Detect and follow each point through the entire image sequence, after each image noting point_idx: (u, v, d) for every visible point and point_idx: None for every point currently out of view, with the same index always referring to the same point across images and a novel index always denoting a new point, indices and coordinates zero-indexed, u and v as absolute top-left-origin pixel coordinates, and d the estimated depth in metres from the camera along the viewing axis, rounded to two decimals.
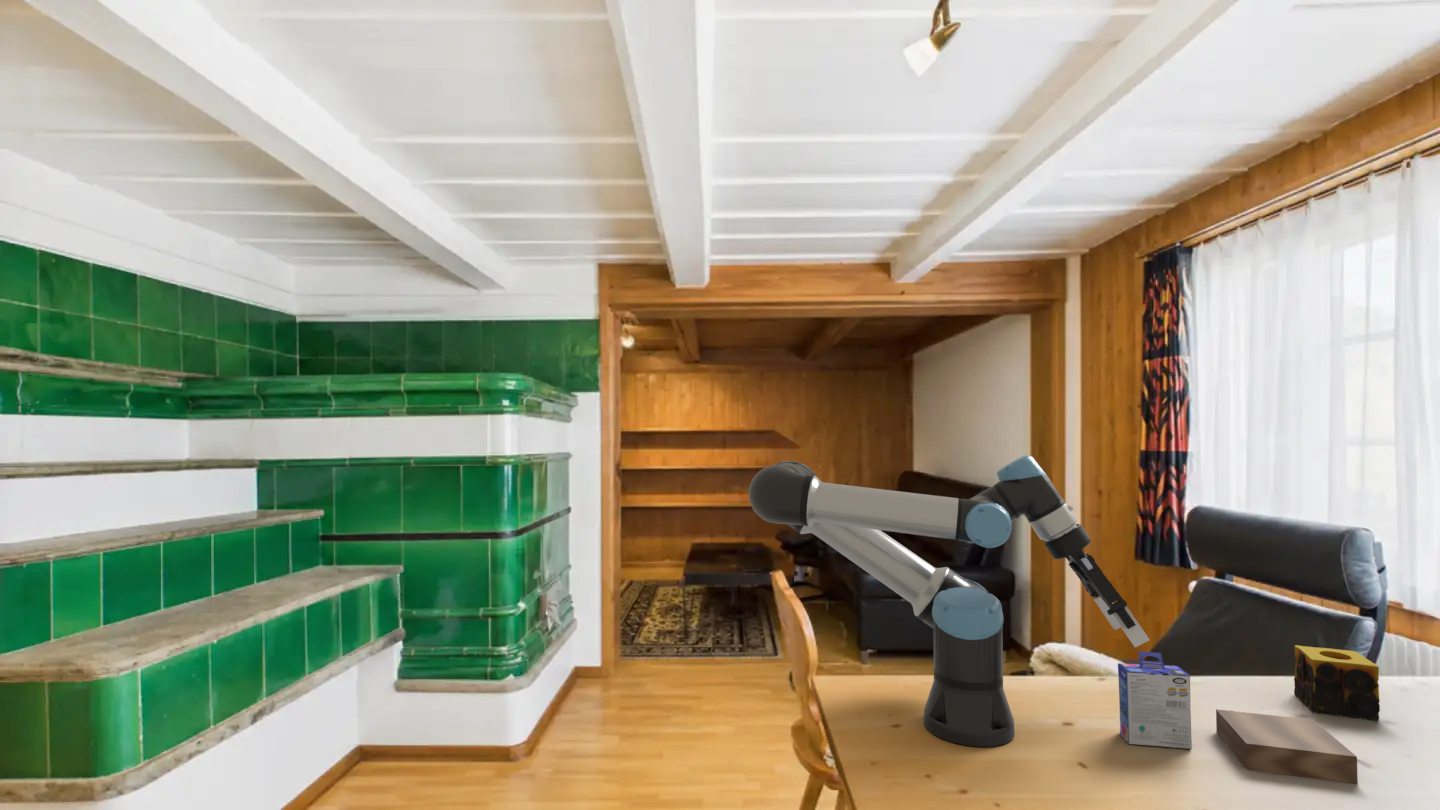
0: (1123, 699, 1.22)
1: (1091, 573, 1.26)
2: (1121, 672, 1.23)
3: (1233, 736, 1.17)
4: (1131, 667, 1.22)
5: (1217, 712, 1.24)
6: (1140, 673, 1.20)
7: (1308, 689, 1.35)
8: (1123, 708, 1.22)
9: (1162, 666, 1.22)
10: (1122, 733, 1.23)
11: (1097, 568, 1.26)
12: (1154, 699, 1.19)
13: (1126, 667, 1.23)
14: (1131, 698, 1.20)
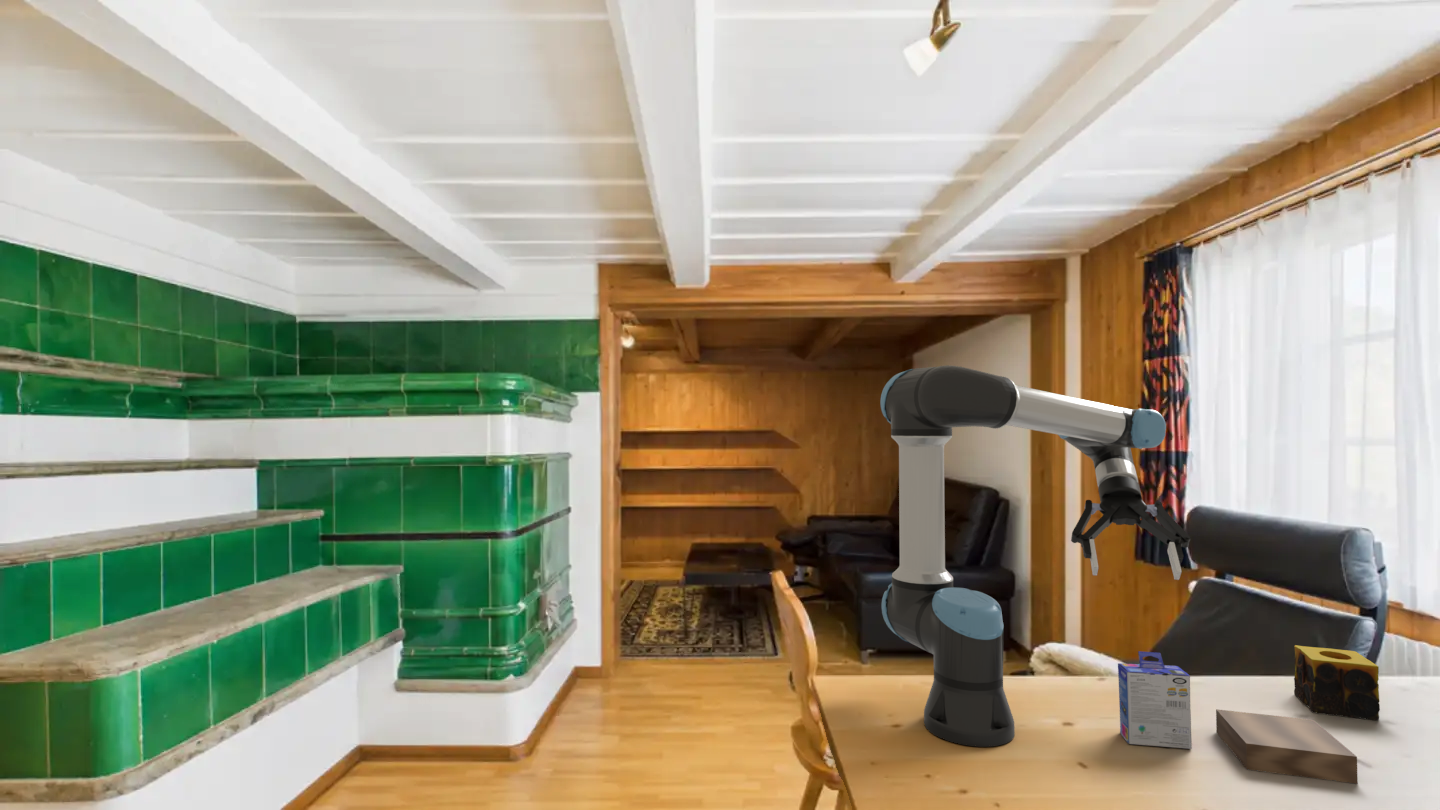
0: (1123, 699, 1.22)
1: None
2: (1121, 672, 1.23)
3: (1233, 736, 1.17)
4: (1131, 667, 1.22)
5: (1217, 712, 1.24)
6: (1140, 673, 1.20)
7: (1308, 689, 1.35)
8: (1123, 708, 1.22)
9: (1162, 666, 1.22)
10: (1122, 733, 1.23)
11: None
12: (1154, 699, 1.19)
13: (1126, 667, 1.23)
14: (1131, 699, 1.20)
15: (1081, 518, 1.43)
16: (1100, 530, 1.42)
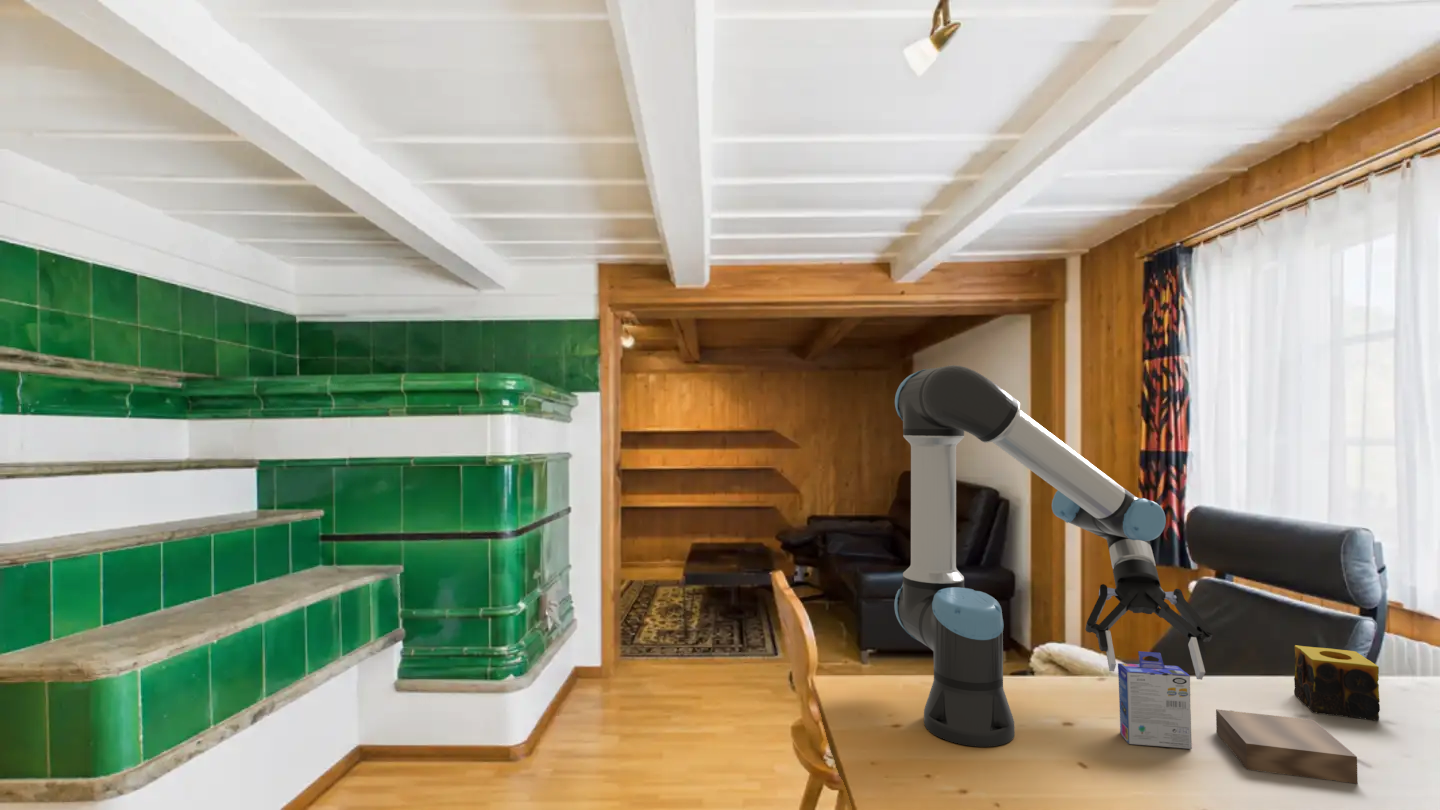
0: (1123, 699, 1.22)
1: None
2: (1121, 672, 1.23)
3: (1233, 736, 1.17)
4: (1130, 667, 1.22)
5: (1217, 712, 1.24)
6: (1140, 673, 1.20)
7: (1308, 689, 1.35)
8: (1123, 708, 1.22)
9: (1162, 666, 1.22)
10: (1122, 733, 1.23)
11: None
12: (1154, 699, 1.19)
13: (1126, 667, 1.23)
14: (1131, 699, 1.20)
15: (1096, 605, 1.35)
16: (1116, 619, 1.34)
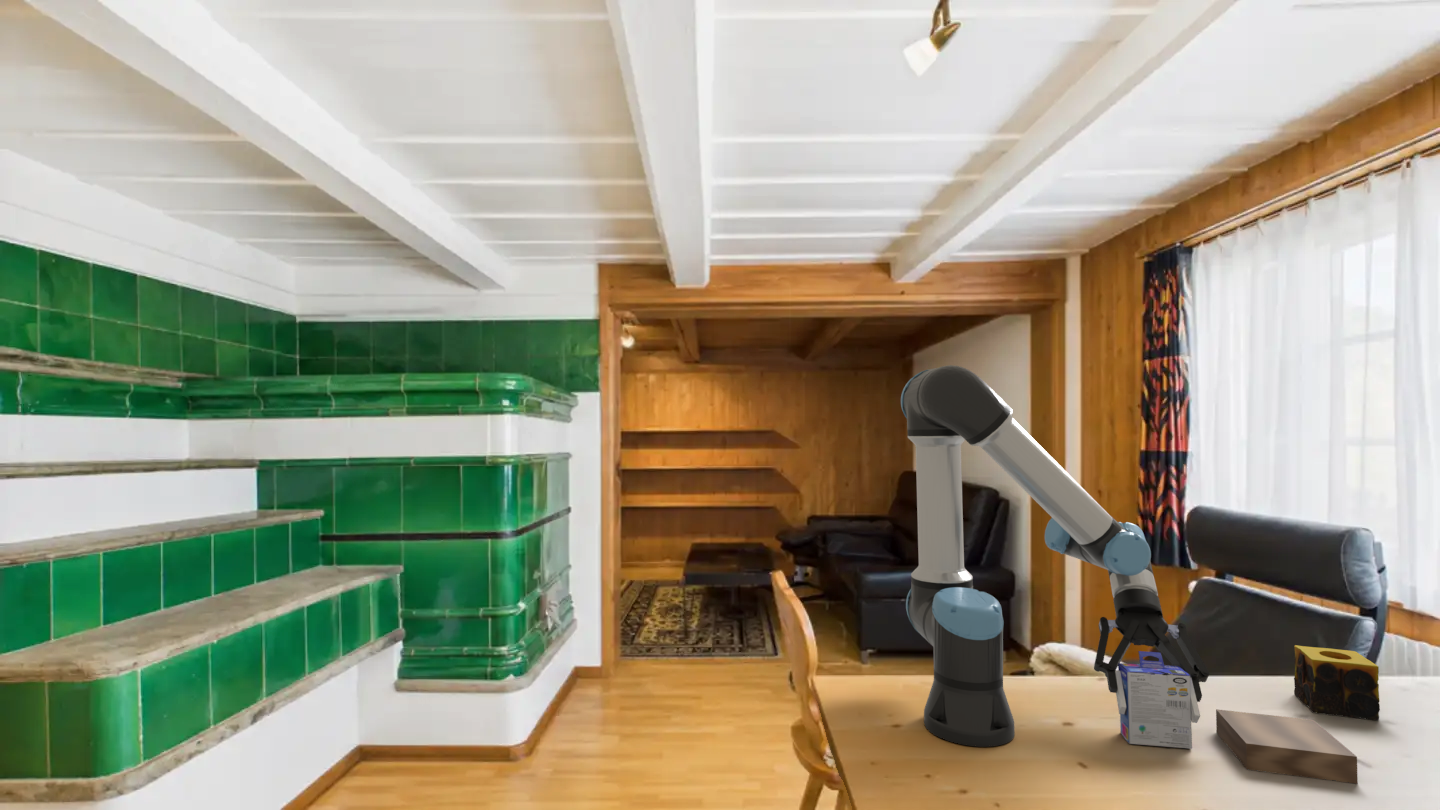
0: None
1: None
2: (1121, 672, 1.23)
3: (1233, 736, 1.17)
4: (1131, 667, 1.22)
5: (1217, 712, 1.24)
6: (1140, 673, 1.20)
7: (1308, 689, 1.35)
8: None
9: (1162, 666, 1.22)
10: (1122, 733, 1.23)
11: None
12: (1155, 699, 1.19)
13: (1126, 667, 1.22)
14: (1131, 698, 1.20)
15: (1101, 641, 1.28)
16: (1123, 655, 1.27)
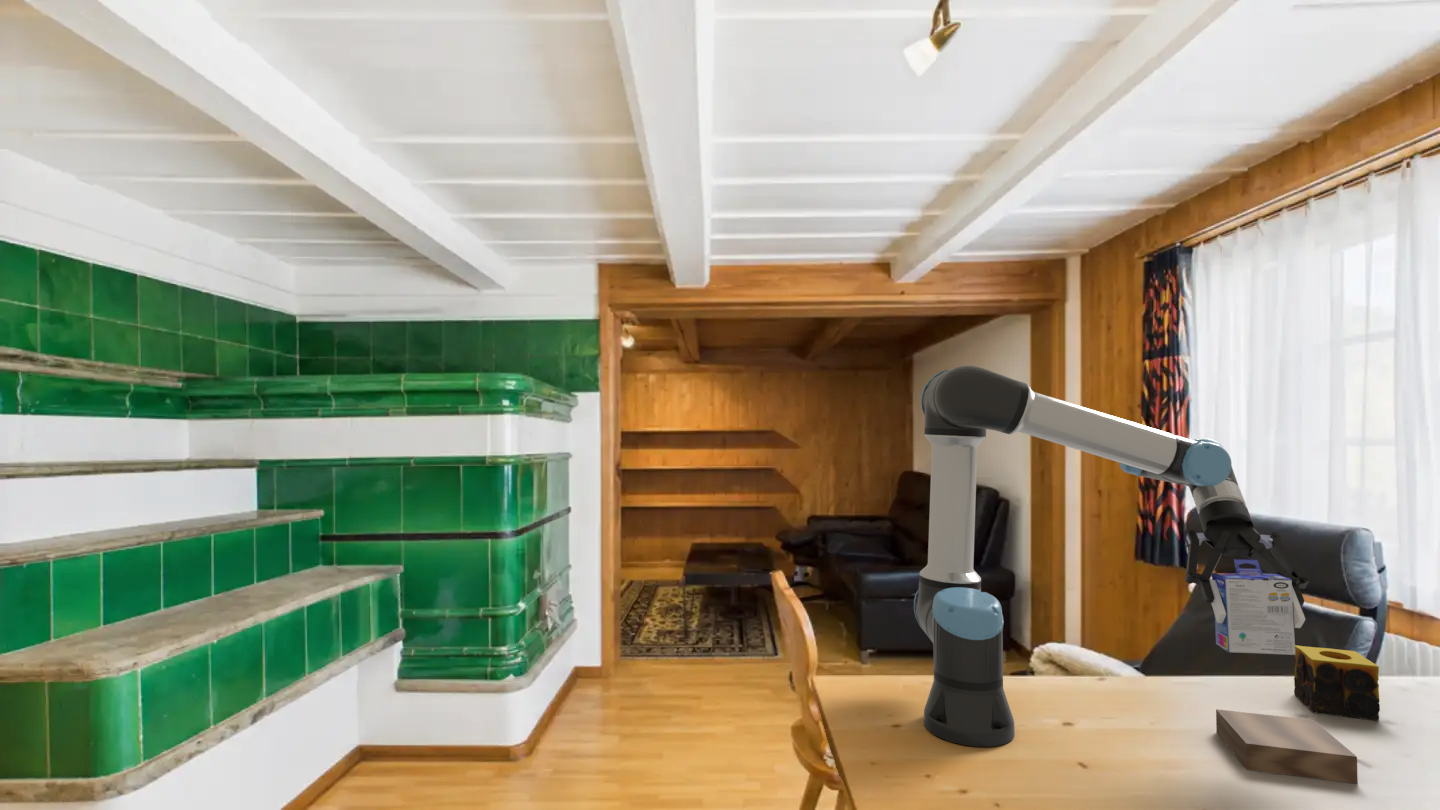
0: None
1: None
2: (1217, 581, 1.19)
3: (1233, 736, 1.17)
4: (1227, 575, 1.18)
5: (1217, 712, 1.24)
6: (1239, 579, 1.16)
7: (1308, 689, 1.35)
8: None
9: (1260, 573, 1.18)
10: (1219, 643, 1.19)
11: None
12: (1255, 605, 1.16)
13: (1222, 575, 1.19)
14: (1230, 606, 1.16)
15: (1191, 553, 1.25)
16: (1215, 566, 1.23)
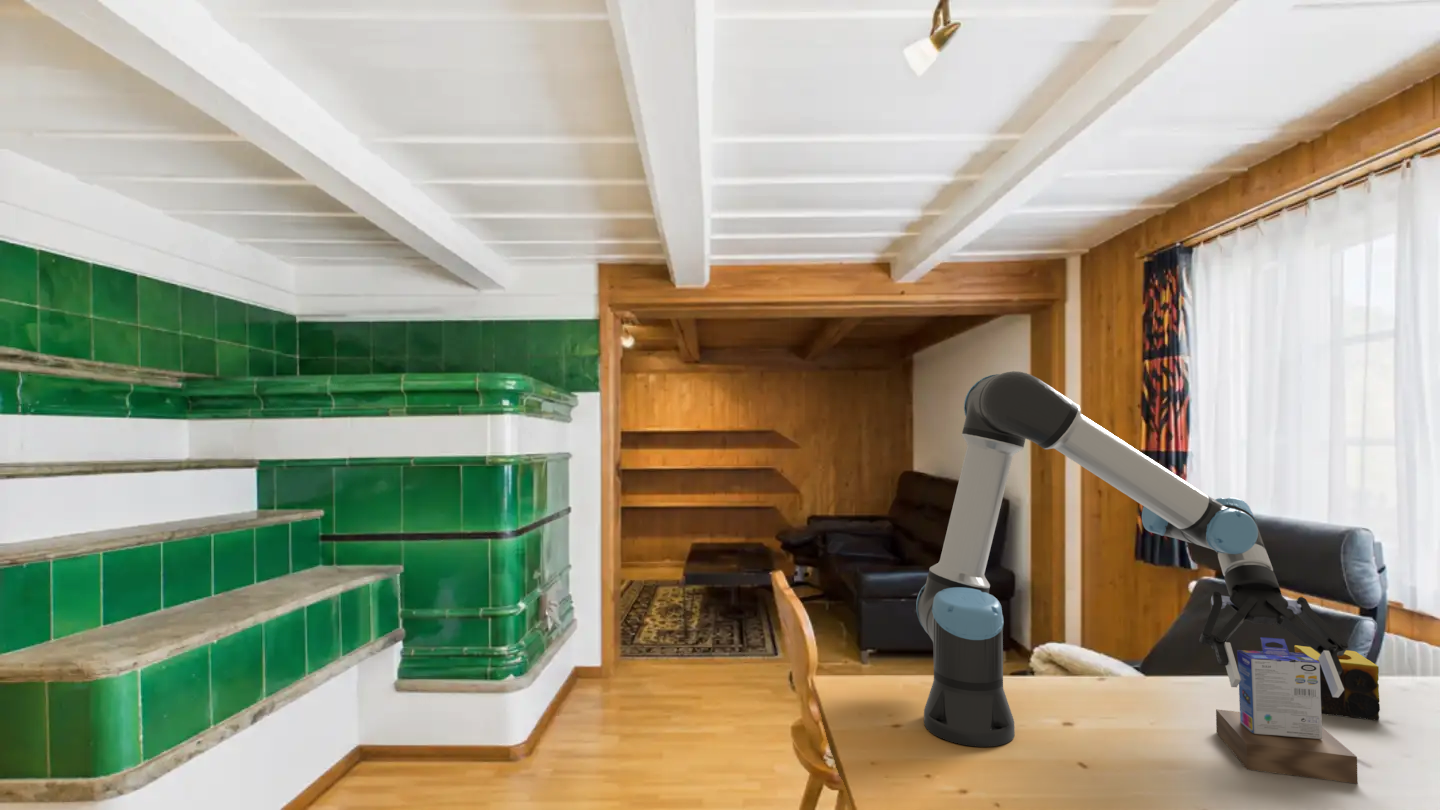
0: (1245, 687, 1.17)
1: None
2: (1242, 659, 1.18)
3: (1233, 736, 1.17)
4: (1253, 654, 1.17)
5: (1217, 712, 1.24)
6: (1265, 660, 1.15)
7: None
8: (1245, 696, 1.17)
9: (1287, 653, 1.16)
10: (1244, 723, 1.17)
11: None
12: (1281, 687, 1.14)
13: (1248, 654, 1.17)
14: (1256, 686, 1.15)
15: (1211, 615, 1.24)
16: (1234, 630, 1.22)
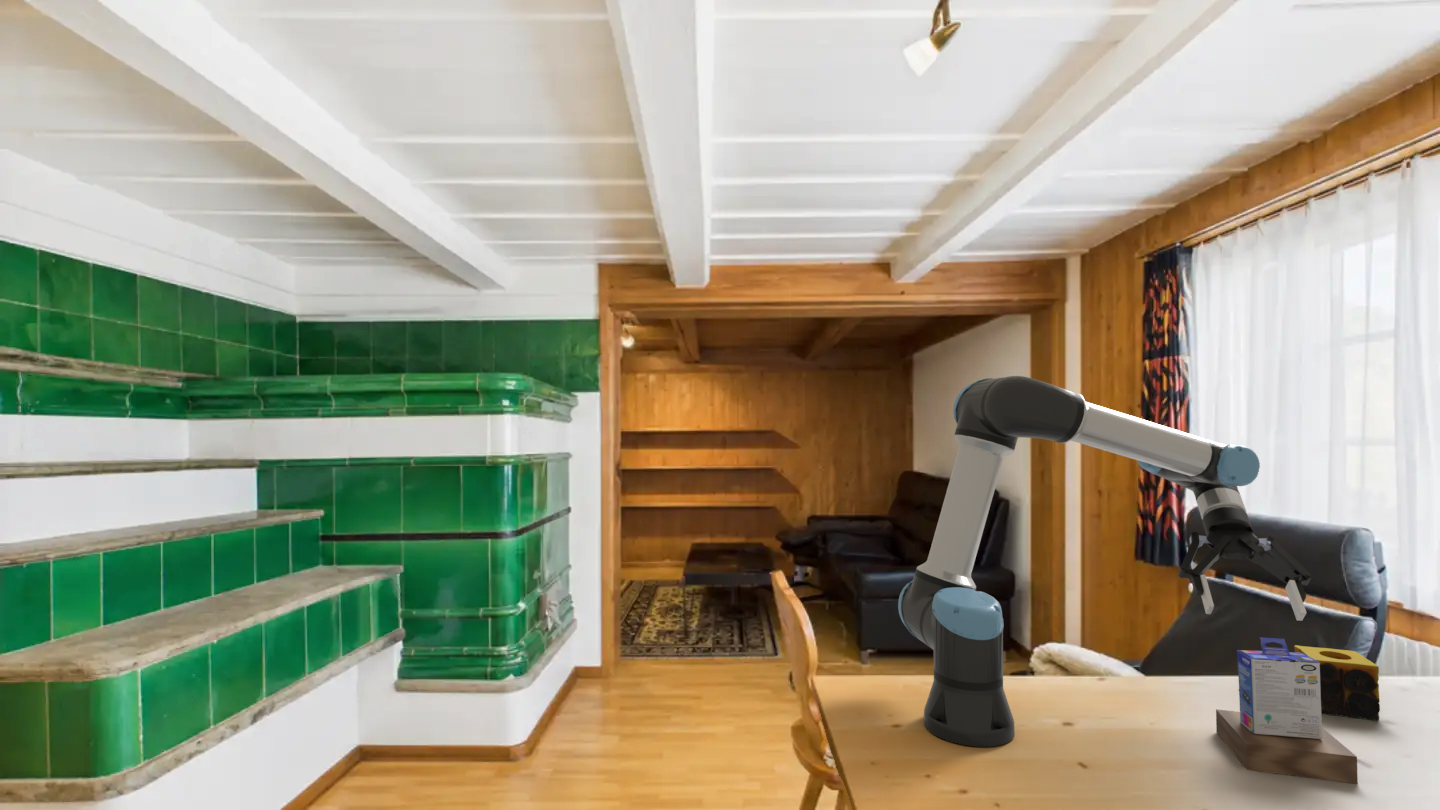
0: (1245, 687, 1.17)
1: None
2: (1242, 659, 1.18)
3: (1233, 736, 1.17)
4: (1253, 654, 1.17)
5: (1217, 712, 1.24)
6: (1265, 660, 1.15)
7: None
8: (1245, 696, 1.17)
9: (1287, 653, 1.16)
10: (1244, 723, 1.17)
11: None
12: (1281, 687, 1.14)
13: (1248, 654, 1.17)
14: (1255, 686, 1.15)
15: (1189, 552, 1.36)
16: (1210, 565, 1.34)
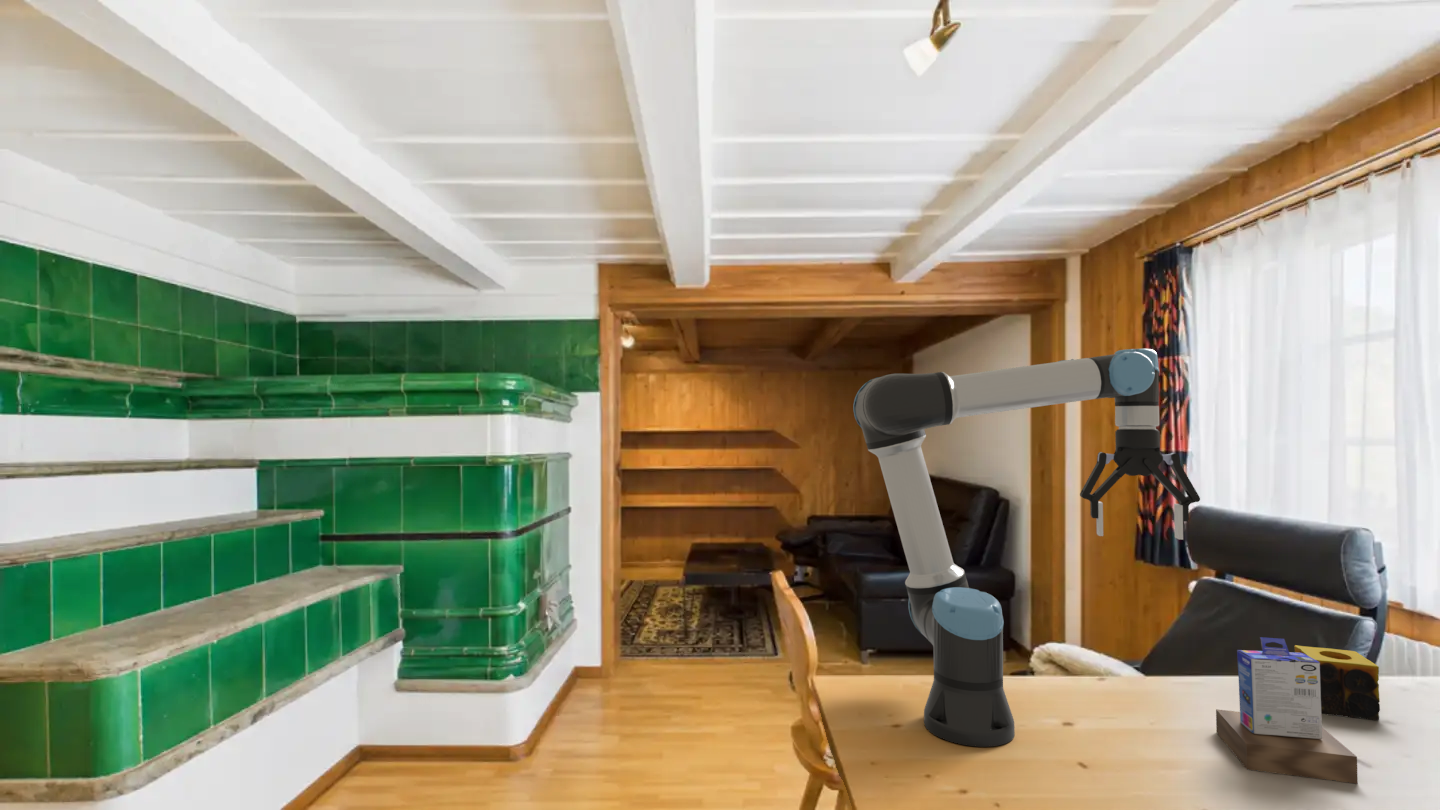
0: (1245, 687, 1.17)
1: None
2: (1242, 659, 1.18)
3: (1233, 736, 1.17)
4: (1253, 654, 1.17)
5: (1217, 712, 1.24)
6: (1265, 660, 1.15)
7: None
8: (1245, 696, 1.17)
9: (1287, 653, 1.16)
10: (1244, 723, 1.17)
11: None
12: (1281, 687, 1.14)
13: (1248, 654, 1.17)
14: (1255, 686, 1.15)
15: (1093, 477, 1.41)
16: None
